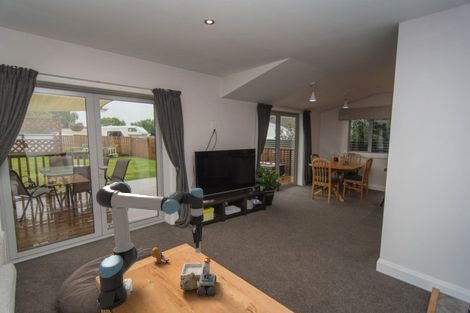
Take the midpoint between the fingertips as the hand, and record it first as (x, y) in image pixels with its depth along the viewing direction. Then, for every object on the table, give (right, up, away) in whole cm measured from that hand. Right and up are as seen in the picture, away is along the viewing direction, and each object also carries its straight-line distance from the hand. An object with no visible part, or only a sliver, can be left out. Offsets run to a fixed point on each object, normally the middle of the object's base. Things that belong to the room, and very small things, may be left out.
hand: (198, 252), depth 134 cm
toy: (-34, -21, +30) cm, 50 cm away
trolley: (+5, -24, +3) cm, 24 cm away
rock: (-7, -23, +3) cm, 24 cm away
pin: (+5, -17, +2) cm, 18 cm away
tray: (-7, -22, +18) cm, 29 cm away
